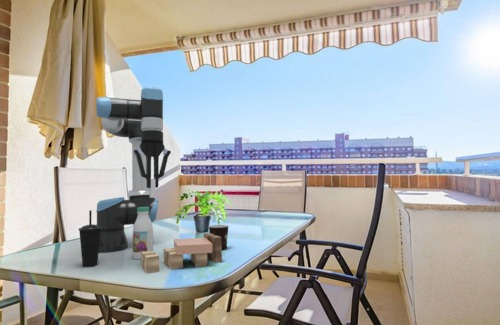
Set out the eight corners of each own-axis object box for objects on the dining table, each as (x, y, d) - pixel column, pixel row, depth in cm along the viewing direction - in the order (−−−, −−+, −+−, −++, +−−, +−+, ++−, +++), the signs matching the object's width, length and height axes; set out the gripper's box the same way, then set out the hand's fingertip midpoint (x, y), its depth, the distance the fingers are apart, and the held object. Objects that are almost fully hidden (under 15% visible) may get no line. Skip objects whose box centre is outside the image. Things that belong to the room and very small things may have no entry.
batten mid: (163, 262, 115) (163, 248, 115) (174, 261, 117) (174, 247, 117) (171, 269, 105) (171, 254, 106) (182, 267, 107) (182, 253, 108)
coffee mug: (219, 246, 142) (218, 224, 143) (233, 248, 137) (232, 225, 138) (199, 251, 133) (199, 227, 134) (213, 253, 128) (213, 229, 129)
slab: (173, 247, 118) (174, 239, 118) (205, 245, 122) (205, 237, 122) (177, 254, 105) (177, 245, 105) (212, 252, 108) (212, 243, 109)
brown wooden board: (204, 256, 123) (203, 233, 124) (209, 255, 124) (209, 233, 125) (215, 263, 113) (215, 237, 113) (221, 262, 114) (221, 237, 114)
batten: (190, 259, 119) (190, 247, 119) (201, 258, 120) (201, 246, 120) (196, 266, 108) (195, 252, 109) (207, 265, 110) (207, 251, 110)
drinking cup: (79, 264, 116) (80, 210, 117) (102, 262, 118) (102, 209, 120) (76, 269, 109) (77, 211, 110) (100, 266, 111) (100, 210, 113)
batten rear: (141, 265, 111) (141, 251, 111) (152, 264, 113) (152, 250, 113) (146, 273, 101) (146, 257, 102) (159, 271, 103) (159, 256, 104)
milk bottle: (144, 254, 130) (144, 206, 131) (157, 256, 126) (157, 206, 127) (128, 258, 123) (128, 207, 124) (141, 260, 119) (141, 208, 120)
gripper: (167, 133, 117) (168, 196, 116) (131, 131, 111) (131, 198, 110) (173, 130, 111) (173, 196, 109) (134, 128, 105) (134, 198, 103)
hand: (152, 197), depth 109 cm, fingers closed
